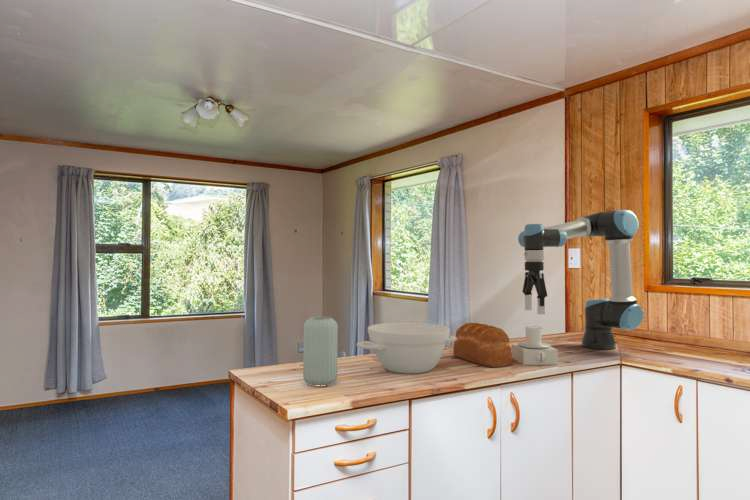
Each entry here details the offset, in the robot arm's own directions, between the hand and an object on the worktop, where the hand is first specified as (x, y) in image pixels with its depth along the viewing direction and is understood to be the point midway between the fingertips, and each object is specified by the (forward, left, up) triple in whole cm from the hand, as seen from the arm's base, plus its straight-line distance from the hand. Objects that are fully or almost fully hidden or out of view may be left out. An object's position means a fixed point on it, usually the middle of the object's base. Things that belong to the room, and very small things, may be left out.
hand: (534, 312), depth 205 cm
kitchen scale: (0, 0, -20) cm, 20 cm away
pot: (+11, -54, -21) cm, 59 cm away
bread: (-2, -22, -21) cm, 30 cm away
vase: (+32, -87, -21) cm, 95 cm away
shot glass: (0, 0, -14) cm, 13 cm away
